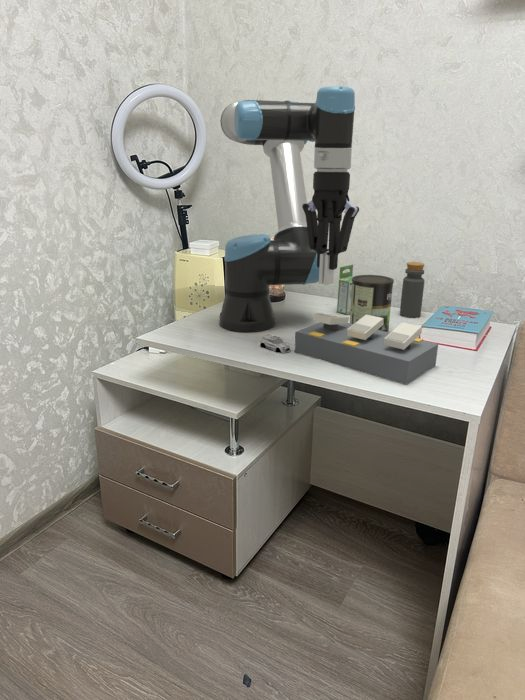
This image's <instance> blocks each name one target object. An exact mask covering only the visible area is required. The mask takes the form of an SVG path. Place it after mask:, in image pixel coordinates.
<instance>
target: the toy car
mask: <svg viewBox="0 0 525 700" xmlns="http://www.w3.org/2000/svg"><path fill="white" fill-rule="evenodd" d="M261 337H262V338H261V339H260V341H259V346H260V347H261V348H263V349H268V350H272V351H273V352H274V351H275V352H276V353H278V354H282V353H283V354H286V353H290V352H292V349H291V346H290V344H289V343H288V342H286V341H284V340H283V339H282V338H280V337H279V336H275V335H272V334H270V333H267V334H264V335H263V336H261Z"/></svg>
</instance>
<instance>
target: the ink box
mask: <svg viewBox="0 0 525 700" xmlns="http://www.w3.org/2000/svg"><path fill="white" fill-rule="evenodd" d="M345 270H349V271H347V272H344V271H345ZM343 272H344V273H343ZM353 272H354V264H348V265H345V266H340V267H339V275H338V276H339V278H338V279H339V280H338V290H337V291H338V292H337V304H336V313H339V314H343V315H344V316H346V315H347V316H348V315H350V311H351V295H352V278H353V277H355V276H354V275H353Z"/></svg>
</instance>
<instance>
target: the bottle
mask: <svg viewBox="0 0 525 700" xmlns="http://www.w3.org/2000/svg"><path fill="white" fill-rule="evenodd" d="M406 267H407V268H406V269H405V271H404V273H406V276H405V277H403V279H402V287H401V298H400V306H399V315H400V316H401V317H404V318H408V319H409V318H411V319H412V318H413V319H414V318H419V317H421V313H422V305H423V296H424V289H425V279H424V277H422V276H423V275H424V274H425V270H424V267H425V263H423V262H417V261H409V262H407V263H406Z"/></svg>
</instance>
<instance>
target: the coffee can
mask: <svg viewBox="0 0 525 700" xmlns="http://www.w3.org/2000/svg"><path fill="white" fill-rule="evenodd" d="M394 282H395V281H394V278H392V277H389V276H385V275H379V274H359V275H355V276H354V277H353V278H352V295H351V311H350V314H349V315H350V316H349V323H350V324H355V323H356V322H357V321H358V320H360V319H361V318H362V317H364V316H365V315H371V316H376V317H380V318H384V325H383V326H381V327H380V328H379V329H378V330H380V331H385V332H389V329H390V317H391V308H392V299H393V298H392V297H393V287H394V286H393V285H394Z"/></svg>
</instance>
